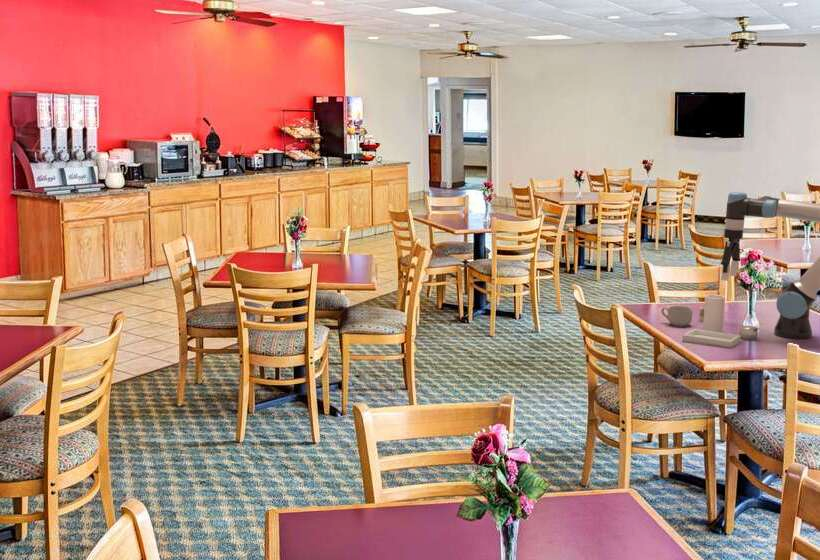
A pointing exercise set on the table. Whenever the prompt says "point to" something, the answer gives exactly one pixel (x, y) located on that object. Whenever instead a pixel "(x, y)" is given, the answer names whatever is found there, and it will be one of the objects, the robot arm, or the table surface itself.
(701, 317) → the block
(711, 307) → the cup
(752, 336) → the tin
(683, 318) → the teacup
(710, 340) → the tray
